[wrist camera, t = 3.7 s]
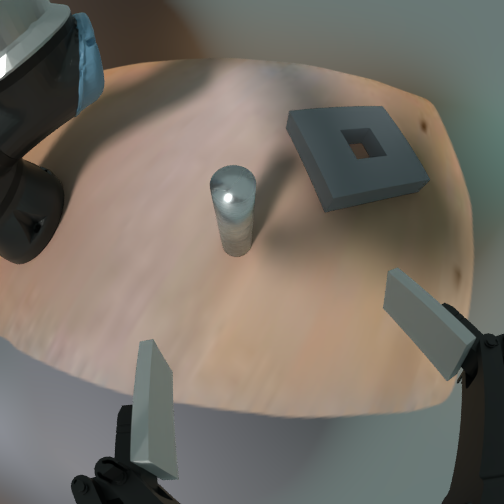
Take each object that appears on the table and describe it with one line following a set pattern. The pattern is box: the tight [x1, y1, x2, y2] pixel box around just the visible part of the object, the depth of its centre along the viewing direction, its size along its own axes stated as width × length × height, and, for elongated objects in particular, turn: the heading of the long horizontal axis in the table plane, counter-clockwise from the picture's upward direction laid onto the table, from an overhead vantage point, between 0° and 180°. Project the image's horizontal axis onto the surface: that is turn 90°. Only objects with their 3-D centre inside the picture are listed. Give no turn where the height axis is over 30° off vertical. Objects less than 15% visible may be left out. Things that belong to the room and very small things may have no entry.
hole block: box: [286, 106, 430, 212], centre depth 32 cm, size 16×14×4 cm
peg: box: [210, 165, 256, 257], centre depth 24 cm, size 3×3×12 cm
